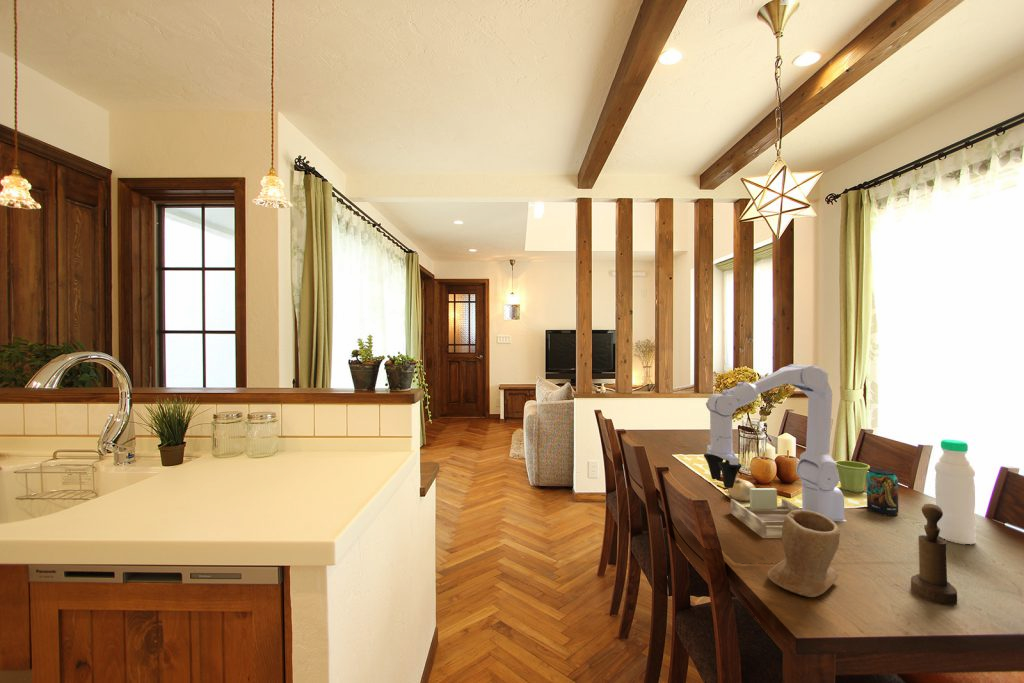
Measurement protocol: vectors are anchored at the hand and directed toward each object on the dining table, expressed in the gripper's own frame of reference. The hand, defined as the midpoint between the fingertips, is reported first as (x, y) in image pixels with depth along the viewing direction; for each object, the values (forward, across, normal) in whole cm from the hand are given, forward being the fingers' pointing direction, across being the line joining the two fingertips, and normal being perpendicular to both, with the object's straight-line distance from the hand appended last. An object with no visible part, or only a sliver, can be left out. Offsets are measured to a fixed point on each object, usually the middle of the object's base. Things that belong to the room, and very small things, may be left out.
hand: (722, 483), depth 123 cm
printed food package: (+10, -4, +49) cm, 50 cm away
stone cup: (+10, +34, +1) cm, 35 cm away
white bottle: (+10, +14, +52) cm, 55 cm away
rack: (+10, +6, +11) cm, 16 cm away
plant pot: (+10, -23, +55) cm, 61 cm away
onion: (+10, -14, +13) cm, 22 cm away
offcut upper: (+8, +6, +11) cm, 15 cm away
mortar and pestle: (+10, +38, +23) cm, 46 cm away
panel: (+10, +1, +11) cm, 15 cm away
